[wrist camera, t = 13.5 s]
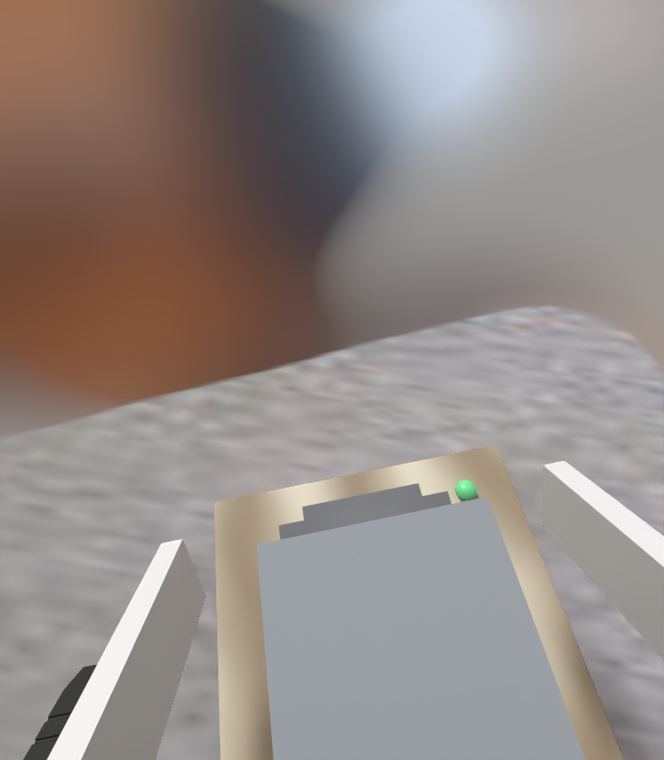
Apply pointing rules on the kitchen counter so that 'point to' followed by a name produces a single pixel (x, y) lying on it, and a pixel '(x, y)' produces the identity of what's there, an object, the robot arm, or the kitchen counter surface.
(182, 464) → the kitchen counter surface
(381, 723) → the plug
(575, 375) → the kitchen counter surface
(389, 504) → the port
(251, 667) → the board
